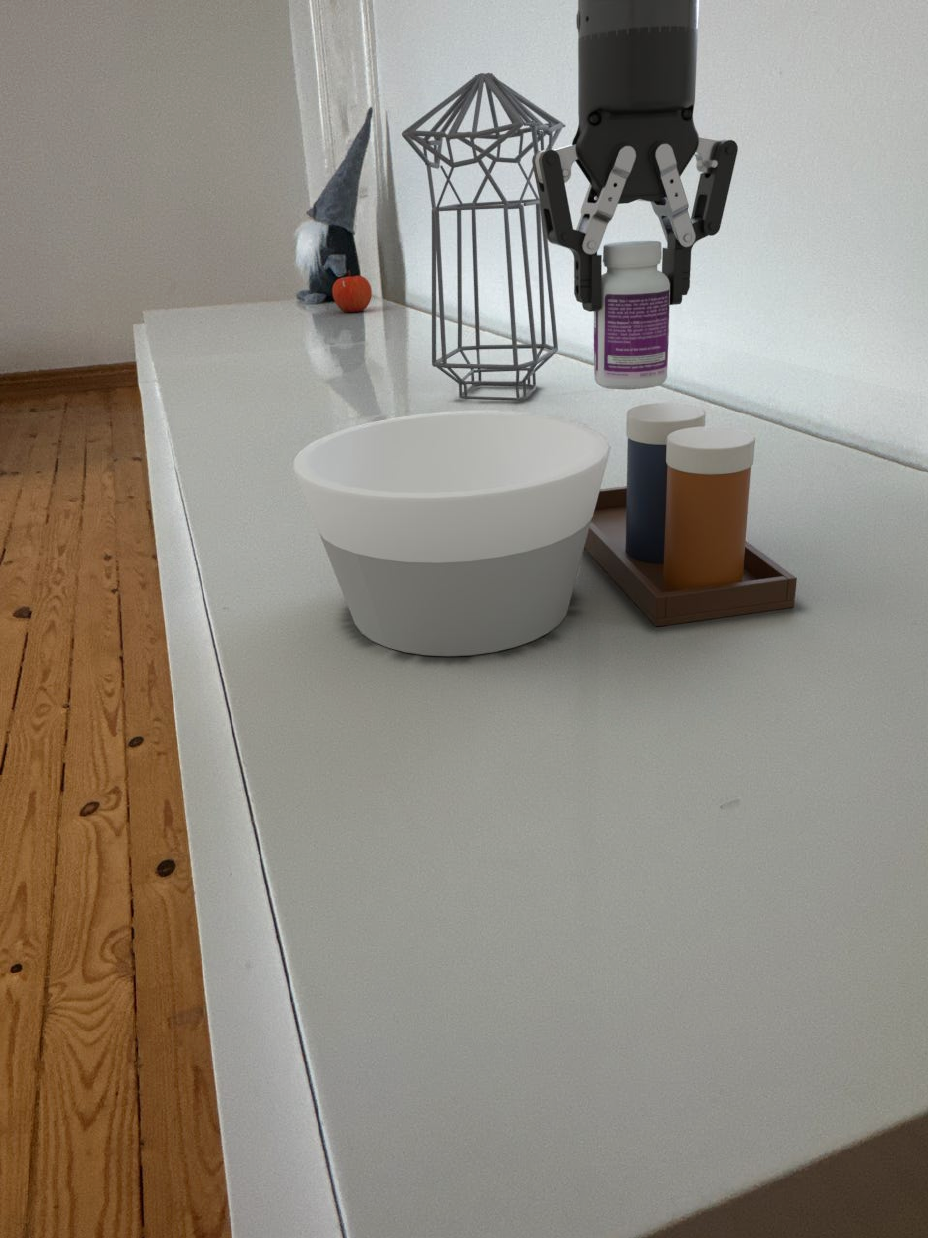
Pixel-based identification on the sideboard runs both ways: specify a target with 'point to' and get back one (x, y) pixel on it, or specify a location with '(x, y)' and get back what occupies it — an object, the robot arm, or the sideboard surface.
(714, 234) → the robot arm
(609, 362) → the pill bottle
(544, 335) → the geometric lantern
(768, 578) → the tray
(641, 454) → the slate bottle
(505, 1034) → the sideboard surface
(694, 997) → the sideboard surface
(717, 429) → the amber bottle
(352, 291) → the apple
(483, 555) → the bowl
